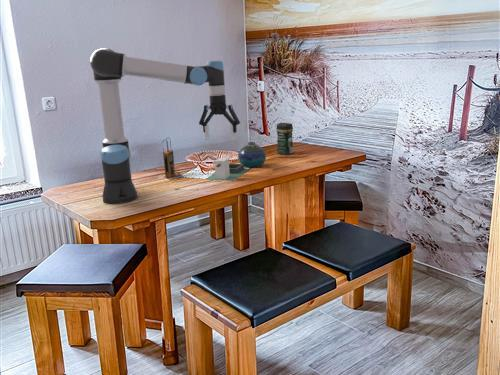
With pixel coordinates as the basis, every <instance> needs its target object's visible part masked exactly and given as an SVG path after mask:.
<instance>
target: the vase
mask: <svg viewBox="0 0 500 375" xmlns="http://www.w3.org/2000/svg"><path fill="white" fill-rule="evenodd" d="M237 153H238V154H237V159H238V162H239V164H244V168H248V169H254V168H259V167H261V166H263V165H264V164H265V162H266V159H267V153H266V150H265V148H263V147H262V146H260V145H259V144H256V142H255V141H249V142H247V144H246V145H244V146H243V147H241V148H240V149H239V151H238V152H237Z"/></svg>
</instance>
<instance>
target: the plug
mask: <svg viewBox="0 0 500 375" xmlns="http://www.w3.org/2000/svg"><path fill="white" fill-rule="evenodd" d="M229 160H230V158H228V157H227V158H226V157H219V158H217V159H216V160H214V171H215V172H214V173H215V174H216V179H226V178H228V177H229V176H230V171H229V164H230V161H229Z"/></svg>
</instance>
